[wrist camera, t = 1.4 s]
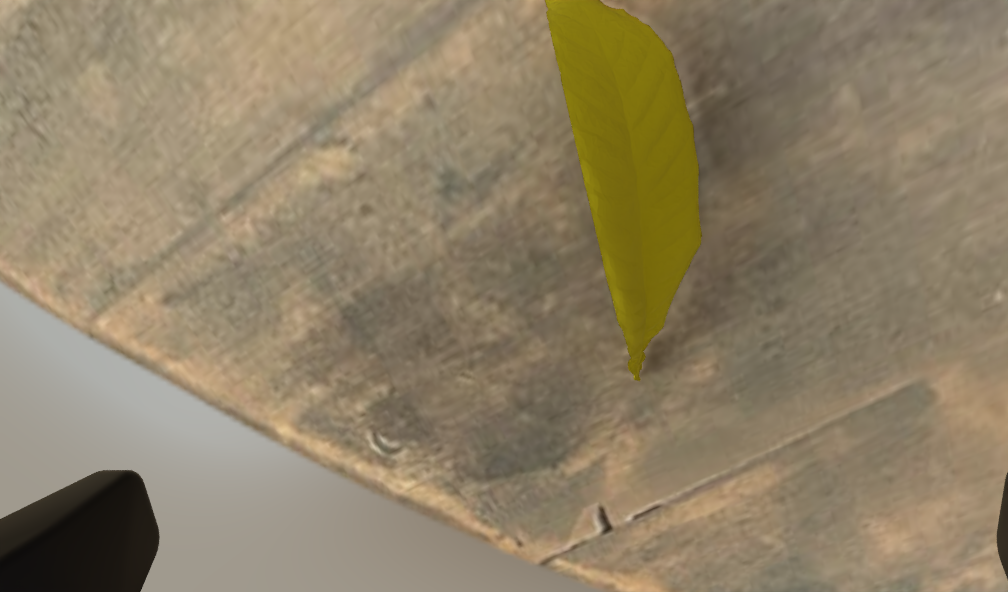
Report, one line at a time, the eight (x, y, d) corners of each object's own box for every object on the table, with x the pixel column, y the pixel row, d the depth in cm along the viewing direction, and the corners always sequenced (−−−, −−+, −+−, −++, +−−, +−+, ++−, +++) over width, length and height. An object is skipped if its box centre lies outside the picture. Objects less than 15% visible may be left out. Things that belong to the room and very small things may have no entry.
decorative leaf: (736, 370, 20) (642, 438, 18) (670, 354, 22) (577, 417, 20) (670, -53, 17) (547, -22, 15) (598, -35, 19) (479, -5, 17)
